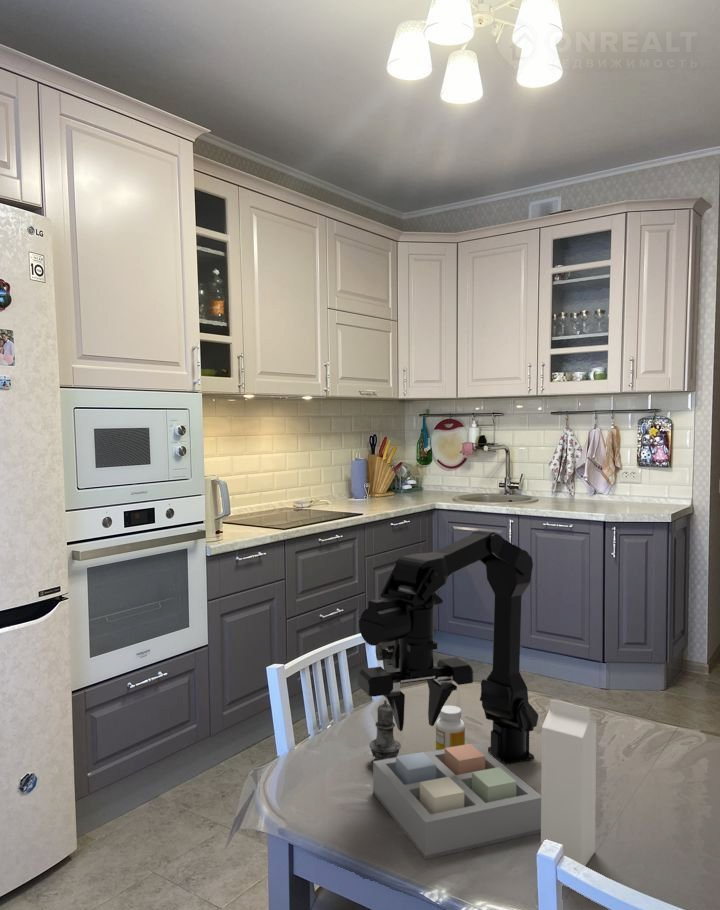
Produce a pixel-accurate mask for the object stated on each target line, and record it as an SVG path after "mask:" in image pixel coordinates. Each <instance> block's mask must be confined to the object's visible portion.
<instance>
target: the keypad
mask: <svg viewBox="0 0 720 910" xmlns="http://www.w3.org/2000/svg"><path fill="white" fill-rule="evenodd" d="M470 744H471V745H472V746H474V747H475V748H476V749H477V750H478V751H480V752H481V753H482V754H483V755H485V770H486V769H492V768H497V767H499V768H501V769H502V770H503V771H504V772H506V773H507V774H508V775H509V776H510V777H512V778H513V779H514V780H515V781H516V797H512V798H507V799H503V800H498V801H493V802H488V803H485V802H484V801H483V800H482V799H481V798H480V797H479V796H477V795H476V794H475V793H474V792H473V791H472V772H470V773H465V774H460V775H455V774H454V773H453V772H452V771H451V770H450V769H449V768H448V767H446V766H445V749H441V750H436V749H435V750H430V751H423V753H424V754H425V755H426V756H428V757H429V758H430V759H431V760H432V761H433V762H434V763H435V764H436V779H439V778H444V777H449V778H450V779H452V780H453V781H454V782H455V783H456V784H457V785H458V786H459V787H460V788H461V789H462V790H463V791H464V808H460V809H455V810H450V811H445V812H441V813H436V814H430V813H429V812H428V811H427V810H426V809H425V808H424V806H423V805H422V804H421V803H420V782H418V783H412V784H407V785H404V784H403V783H402V782H401V781H400V779H399V778H398V777H397V776H396V757H395V758H389V759H384V760H378V761H373V767H372V774H373V775H372V780H373V781H372V793H373V794H374V796H375V797H376V799H377V800H378V801H379V802H380V804H381V805H382V807H384V809H385V810H386V812H387V813H388V814H389V815H390V816H391V818H392V819H393V820H394V822H395V823H396V824H397V825H398V827H399V828H400V830H402V832H403V833H404V835H405V836H406V837H407V838H408V839H409V840H410V841H409V842H410V843H412V845H413V846H414V848H416V850H417V851H418V852H419V854H420V855H421V856H422V857H423V859H424V860H425V861H427V860H430V859H434V858H439V857H442V856H447V855H452V854H455V853H459V852H460V851H461V852H464V850H465V851H469V850H472V848H474V849H477V848H476V847H478V848H481V847H485V846H484V845H486V846H489V845H488V844H491V845H494V844H493V843H495V844H498V842H499V843H503V842H508V841H511V840H510V839H512V840H515V839H514V838H516V839H519V837H520V838H524V837H523V836H525V837H528V836H533V835H537V834H541V793H539V792H537V791H536V789H535V790H534V788H532V787H531V786H530V785H529V784H527V783H526V782H525V781H524V780H522V779H521V778H520V777H519V776H517V774H515V773H514V772H512V771H511V770H510V769H508V768H507V767H506V766H505V765H504V764H503V763H501V762H500V761H499V760H497V759H496V758H495V756H494V757H493V755H492V754H490V753H488V752H487V751H486V750H485V749H484V748H483V747H481V745H479V744H477V743H470ZM433 780H434V779H433ZM507 840H508V841H507ZM502 841H503V842H502ZM480 846H481V847H480ZM468 849H469V850H468Z"/></svg>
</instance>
